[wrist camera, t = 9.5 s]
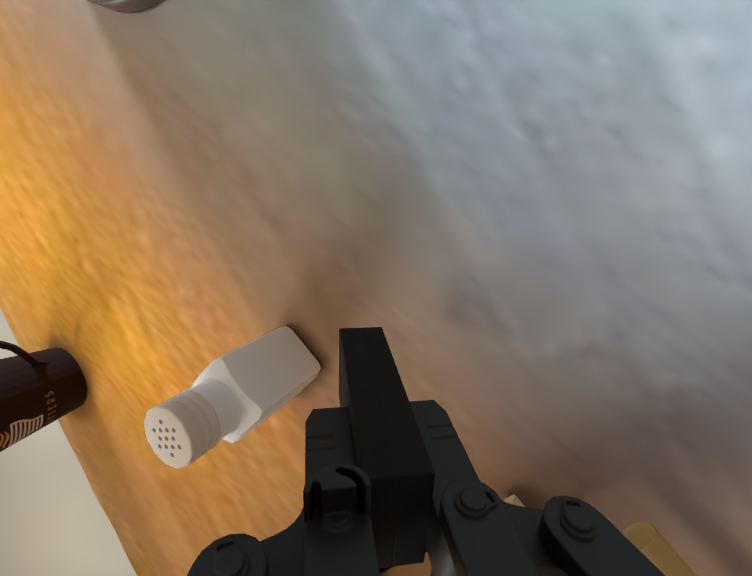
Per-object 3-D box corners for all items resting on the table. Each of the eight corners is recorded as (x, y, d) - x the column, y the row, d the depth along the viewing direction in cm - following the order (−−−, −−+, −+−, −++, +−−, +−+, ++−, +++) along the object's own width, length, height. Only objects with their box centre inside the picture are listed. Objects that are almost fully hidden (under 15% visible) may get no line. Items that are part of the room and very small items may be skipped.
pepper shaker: (289, 319, 26) (157, 382, 18) (328, 367, 26) (211, 454, 18) (258, 353, 28) (127, 424, 20) (294, 397, 28) (175, 490, 19)
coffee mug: (70, 427, 42) (-60, 490, 34) (31, 355, 43) (-109, 400, 34) (120, 391, 37) (-21, 455, 28) (74, 309, 37) (-80, 348, 28)
